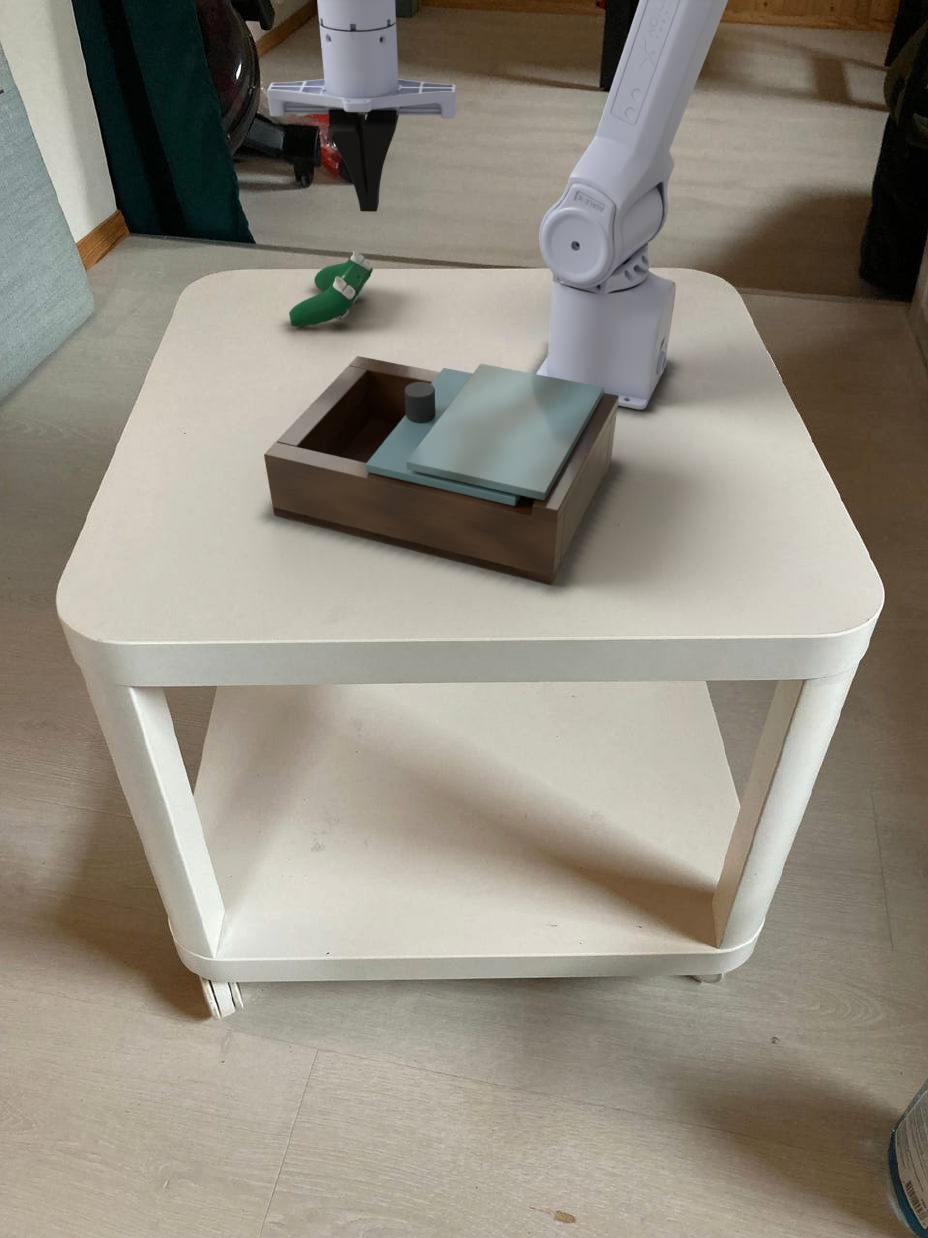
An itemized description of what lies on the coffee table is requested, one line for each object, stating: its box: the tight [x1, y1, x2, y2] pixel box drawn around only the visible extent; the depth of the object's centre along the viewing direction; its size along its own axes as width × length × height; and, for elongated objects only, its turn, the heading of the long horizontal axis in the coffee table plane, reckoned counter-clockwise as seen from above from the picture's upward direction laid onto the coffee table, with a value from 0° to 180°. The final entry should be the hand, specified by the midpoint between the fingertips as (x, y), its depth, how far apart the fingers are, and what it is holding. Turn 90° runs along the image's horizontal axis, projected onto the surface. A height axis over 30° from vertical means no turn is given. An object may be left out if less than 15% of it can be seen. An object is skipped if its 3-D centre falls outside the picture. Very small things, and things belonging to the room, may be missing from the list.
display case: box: [263, 355, 619, 586], centre depth 67 cm, size 20×14×7 cm
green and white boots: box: [288, 250, 374, 328], centre depth 88 cm, size 9×4×6 cm
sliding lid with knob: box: [366, 367, 521, 506], centre depth 64 cm, size 10×13×3 cm
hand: (369, 206), depth 82 cm, fingers closed
